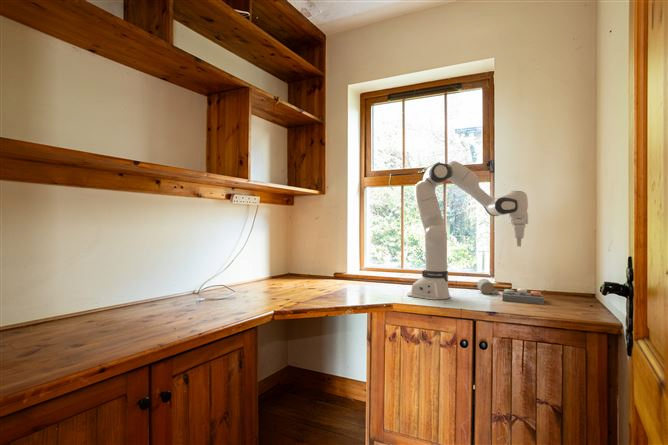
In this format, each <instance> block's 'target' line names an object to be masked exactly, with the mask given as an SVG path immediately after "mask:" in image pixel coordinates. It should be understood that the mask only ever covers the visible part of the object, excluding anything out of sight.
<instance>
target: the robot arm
mask: <svg viewBox="0 0 668 445" xmlns="http://www.w3.org/2000/svg"><path fill="white" fill-rule="evenodd" d="M446 181H448V182H451V183H452V184H454V185H455V186H456V187H457V188H459V189H461V190H462V191H464V192H465V193H466V194H468V195H470V197H472V198H473V199H475V200H476V201H477V202H478V203H479V204H481V205H482V207H483V208H484V210H485V211H486V213H487V214H488V215H489V216H491V217H498V216H504V215H507V214H508V215H509V224H510V225H511V226H512V228H513V230H514V238H515V239H516V246H517V247H520V248H521V247H522V239H524V236H525V228H526V225H528V224H529V214H528V210H529V202H528V196H527V192H524V191H522V190H512V191H511V192H509V193H507V194H505V195H502V196H499V197H497V198H496V197H492V196H490V195H489V194H488V193H487V192H486V191H485V190H483V189H482V188H481V187H480V179H479V176H478V175H477V174H476V173H475V172H474V171H473V170H471V169H470V168H469V167H467V166H465V165H464V164H462V163H460V162H458V161H455V160H453V161H450V162H448V163H443V162H436V163H434V164H432V165H431V166H430V167H428V168H427V169H426V170H425V172H424V173H423V175H422V180H420V181H418V182H417V183H416V184H415V185H414V196H415V201H416V202H415V203H416V205H417V209H418V214H419V217H420V219H421V223H422V226H423V230H424V238H425V239H424V242H425V245H424V246H425V269H423V270H422V271H421V277H420V278H419V279H417V280H416V281H414V282H413V284H412V286H411V290H410V291H408V292H407V294H406V295H407V297H410V298H412V297H413V298H418V299H419V298H420V299H427V300H444V299H445V300H446V299H450V298H451V295H450V291H449V286H448V285H449V283H448V281H449V271H448V233H447V230H446V226H445V223H444V219H443V216H442V215H443V214H442V212H441V208H440V204H439V201H438V200H439V199H438V198H437V197H438V196H437V194H436V193H437V192H436V187H438V186H441V185H442V184H443V183H445V182H446Z"/></svg>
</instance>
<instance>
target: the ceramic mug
mask: <svg viewBox="0 0 668 445" xmlns="http://www.w3.org/2000/svg"><path fill="white" fill-rule="evenodd" d="M477 289H478V290H479V291H480V292H481V293H482V294H484V295H491V294H492V293H494V294H496V295H498V294H500V291H499V290H497V289H495V286H494V285H493V283H492V282H491V281H490V280H489V279H486V278H482V279H479V281H478V282H477Z"/></svg>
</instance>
